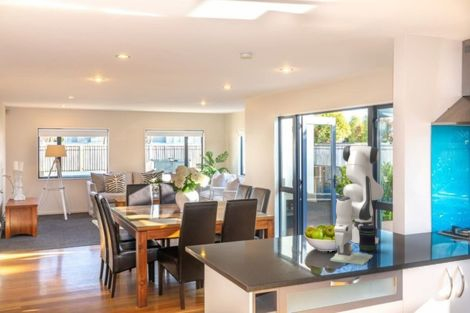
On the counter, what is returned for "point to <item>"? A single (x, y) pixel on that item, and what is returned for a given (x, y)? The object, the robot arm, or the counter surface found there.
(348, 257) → the board
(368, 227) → the storage jar
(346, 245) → the plug
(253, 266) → the counter surface
